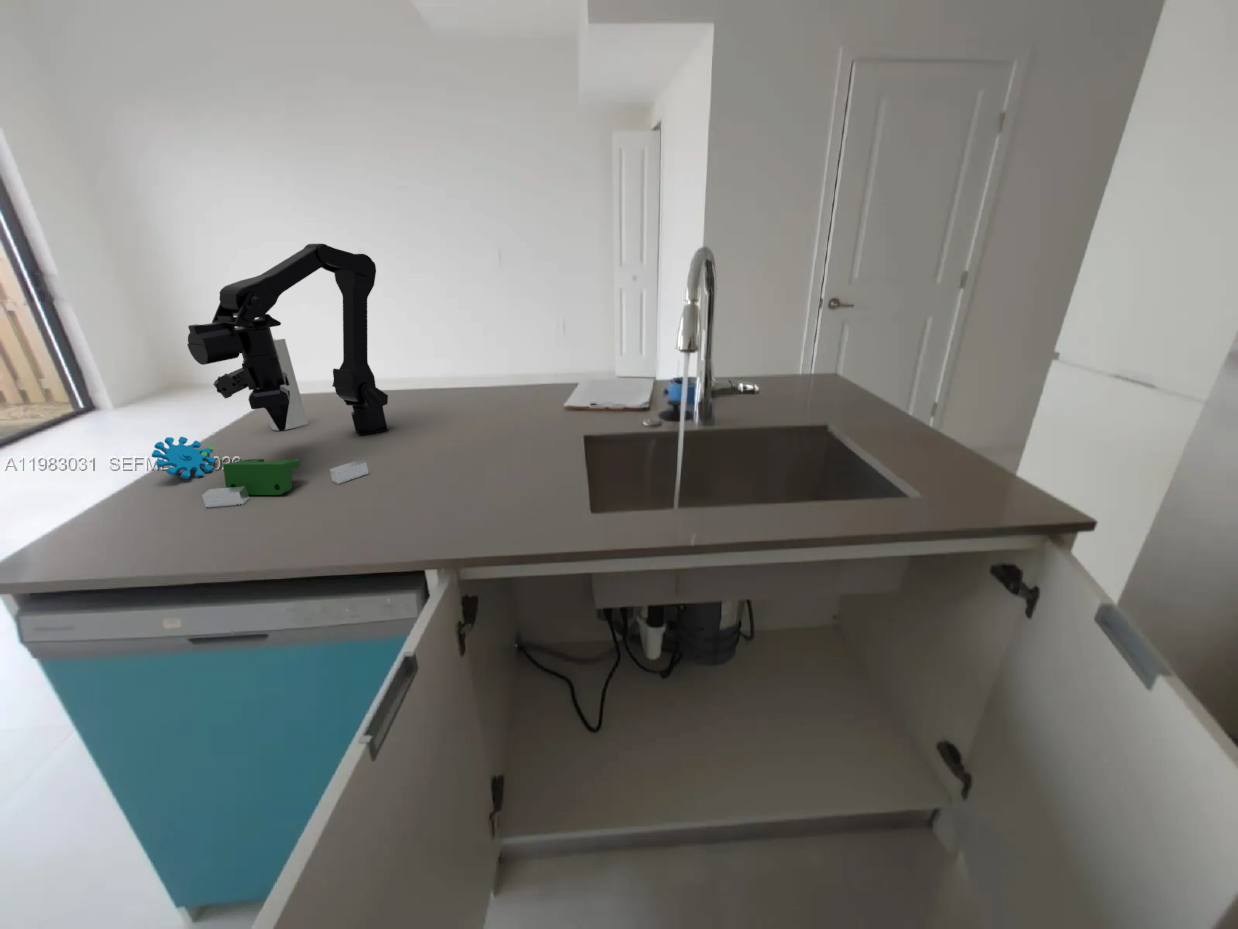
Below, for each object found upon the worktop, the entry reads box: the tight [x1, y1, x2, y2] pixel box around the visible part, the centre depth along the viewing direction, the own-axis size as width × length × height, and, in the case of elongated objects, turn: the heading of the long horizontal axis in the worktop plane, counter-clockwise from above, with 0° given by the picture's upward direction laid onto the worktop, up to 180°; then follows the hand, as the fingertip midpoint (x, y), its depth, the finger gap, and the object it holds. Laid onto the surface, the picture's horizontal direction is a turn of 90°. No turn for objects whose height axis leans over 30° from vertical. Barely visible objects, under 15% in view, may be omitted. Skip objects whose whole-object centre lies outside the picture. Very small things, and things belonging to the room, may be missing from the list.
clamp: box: [222, 458, 302, 496], centre depth 101 cm, size 12×6×9 cm, turn 81°
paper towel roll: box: [265, 337, 309, 431], centre depth 130 cm, size 7×6×21 cm
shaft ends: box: [201, 459, 369, 508], centre depth 101 cm, size 26×4×2 cm, turn 119°
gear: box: [151, 436, 216, 480], centre depth 109 cm, size 11×6×10 cm
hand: (282, 429), depth 111 cm, fingers closed
